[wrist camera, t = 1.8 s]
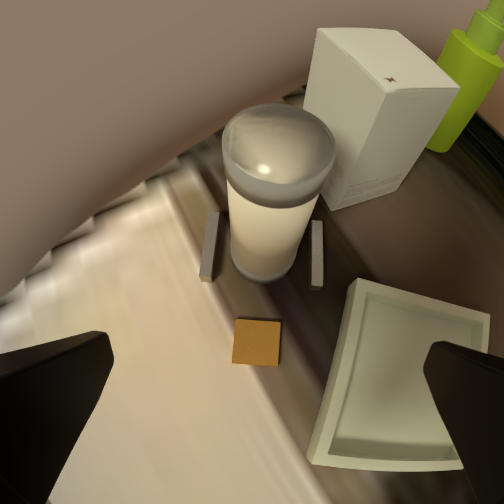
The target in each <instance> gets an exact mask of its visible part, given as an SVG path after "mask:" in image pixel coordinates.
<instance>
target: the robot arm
mask: <svg viewBox="0 0 504 504" xmlns="http://www.w3.org/2000/svg"><path fill="white" fill-rule="evenodd" d="M113 363H114V355H113V351H112V347H111V344H110V340H109V336H108V334H107V333H106V332H101V331H90V332H86V333H83V334H79V335H75V336H71V337H67V338H64V339H60V340H56V341H52V342H48V343H44V344H40V345H36V346H32V347H28V348H24V349H20V350H16V351H11V352H7V353H3V354H0V504H46V502H47V500H48V498H49V496H50V493H51V491H52V489H53V487H54V485H55V483H56V481H57V479H58V477H59V475H60V473H61V471H62V469H63V467H64V465H65V463H66V461H67V459H68V457H69V455H70V453H71V451H72V449H73V447H74V445H75V444H76V442H77V440H78V438H79V436H80V434H81V432H82V430H83V428H84V427H85V425H86V423H87V421H88V419H89V417H90V416H91V414H92V412H93V410H94V408H95V406H96V404H97V402H98V400H99V398H100V396H101V393H102V391H103V388H104V386H105V383H106V381H107V379H108V376H109V374H110V371H111V369H112V367H113ZM423 373H424V376H425V379H426V381H427V384H428V387H429V389H430V392H431V395H432V397H433V400H434V403H435V405H436V408H437V410H438V413H439V415H440V417H441V419H442V421H443V423H444V425H445V427H446V429H447V431H448V434H449V436H450V438H451V440H452V442H453V444H454V447H455V449H456V451H457V453H458V456H459V458H460V460H461V462H462V465H463V467H464V469H465V472H466V474H467V477H468V479H469V481H470V484H471V486H472V489H473V491H474V494H475V497H476V499H477V502H478V504H504V358H500V357H497V356H493V355H490V354H487V353H483V352H480V351H477V350H473V349H470V348H467V347H464V346H460V345H457V344H454V343H450V342H447V341H437V342H434V343H432V345H431V347H430V349H429V352H428V354H427V357H426V359H425V362H424V365H423Z"/></svg>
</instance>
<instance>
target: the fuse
mask: <svg viewBox="0 0 504 504" xmlns="http://www.w3.org/2000/svg"><path fill="white" fill-rule="evenodd" d="M222 149H223V163H224V171H225V175H226V178H227V187H228V201H229V215H230V228H231V244H230V246H231V258H232V262H233V265H234V267H235V269H236V271H237V272H238V273H239V274H240V275H241V276H242V277H243V278H245V279H246V280H248V281H250V282H253V283H257V284H270V283H274V282H276V281H278V280H280V279H282V278H283V277H284V276H285V275H286V274H287V273H288V272H289V271H290V269H291V267H292V265H293V262H294V260H295V258H296V255H297V249H298V246H299V244H300V241H301V239H302V236H303V234H304V231H305V229H306V226H307V224H308V221H309V219H310V216H311V214H312V211H313V209H314V206H315V203H316V201H317V198H318V196H319V193H320V192H321V191H322V189H323V188H324V186H325V184H326V181H327V179H328V176H329V174H330V171H331V168H332V166H333V163H334V161H335V157H336V142H335V139H334V137H333V134H332V133H331V131H330V129H329V128H328V127H327V126H326V124H325V123H324V122H323V121H321V120H320V119H319V118H318V117H316V116H315V115H313V114H312V113H310V112H308V111H306V110H304V109H301V108H299V107H295V106H292V105H287V104H278V103H270V104H262V105H256V106H253V107H250V108H247V109H245V110H243V111H241V112H239V113H238V114H237V115H235V116H234V117H233V118H232V119H231V120H230V121H229V122H228V124H227V125H226V127H225V129H224V132H223V136H222Z"/></svg>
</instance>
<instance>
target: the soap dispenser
mask: <svg viewBox="0 0 504 504" xmlns="http://www.w3.org/2000/svg"><path fill="white" fill-rule="evenodd" d="M503 19H504V0H491V1H490V3H489V5H488V7H487V9H486V11H485V10H479V9H476V11H475V13H474V15H473V17H472V20H471V22H470V24H469V26H468V28H467V30H466V32H465V31H462V30H459V29H452V30H451V33H450V35H449V37H448V40H447V42H446V44H445V46H444V48H443V50H442V52H441V55H440V57H439V59H438V61H437V63H436V64H437V65H438V66H439V67H440V68H441V69H442V70H443V71H444V72H445V73H446V74H447V75H448V76H449V77H450V78H451V79H452V80H453V81H454V82H456V83H457V84H458V86H459V87H460V90H459V92H458V94H457V95H456V97H455V99H454V100H453V102H452V104H451V106H450V107H449V109H448V111H447V112H446V114H445V116H444V117H443V119H442V121H441V122H440V124H439V126H438V127H437V129H436V131H435V132H434V134H433V135H432V137H431V139H430V140H429V142H428V143H427V145H426V146H425V147H427V148H428V149H430V150H433V151H436V152H446V151H448V150H449V149H450V147H451V146H452V145H453V143H454V142H455V140H456V139H457V138H458V136H459V135H460V133H461V132H462V131H463V129H464V128H465V126H466V125H467V123H468V122H469V121H470V119H471V118H472V116H473V115H474V113H475V112H476V110H477V109H478V107H479V106H480V104H481V103H482V101H483V100H484V98H485V97H486V95H487V93H488V92H489V90H490V89H491V87H492V86H493V84H494V82H495V81H496V79H497V78H498V76H499V74H500V73H501V71H502V69H503V68H504V64H503V62H502V60H501V59H500V58H499V56H498V55H497V54H496V53H497V51H498V49H499V47H500V45H501V43H502V41H503V40H504V24H503V23H502V21H503Z"/></svg>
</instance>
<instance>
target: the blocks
mask: <svg viewBox="0 0 504 504" xmlns="http://www.w3.org/2000/svg"><path fill="white" fill-rule="evenodd" d="M219 227H220V212H209V213H208V219H207V225H206V232H205V238H204V245H203V252H202V259H201V266H200V273H199V277H200V280H201V282H211V283H212V281H213V273H214V265H215V257H216V250H217V242H218V235H219ZM322 287H323V228H322V221H317V220H312V221H311V223H310V226H309V274H308V290H313V291H319V290H320V289H321V288H322ZM280 323H281V322H270V321H256V320H244V319H236V322H235V333H234V345H233V356H232V363H235V364H247V365H261V366H278V355H279V340H280Z"/></svg>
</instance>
